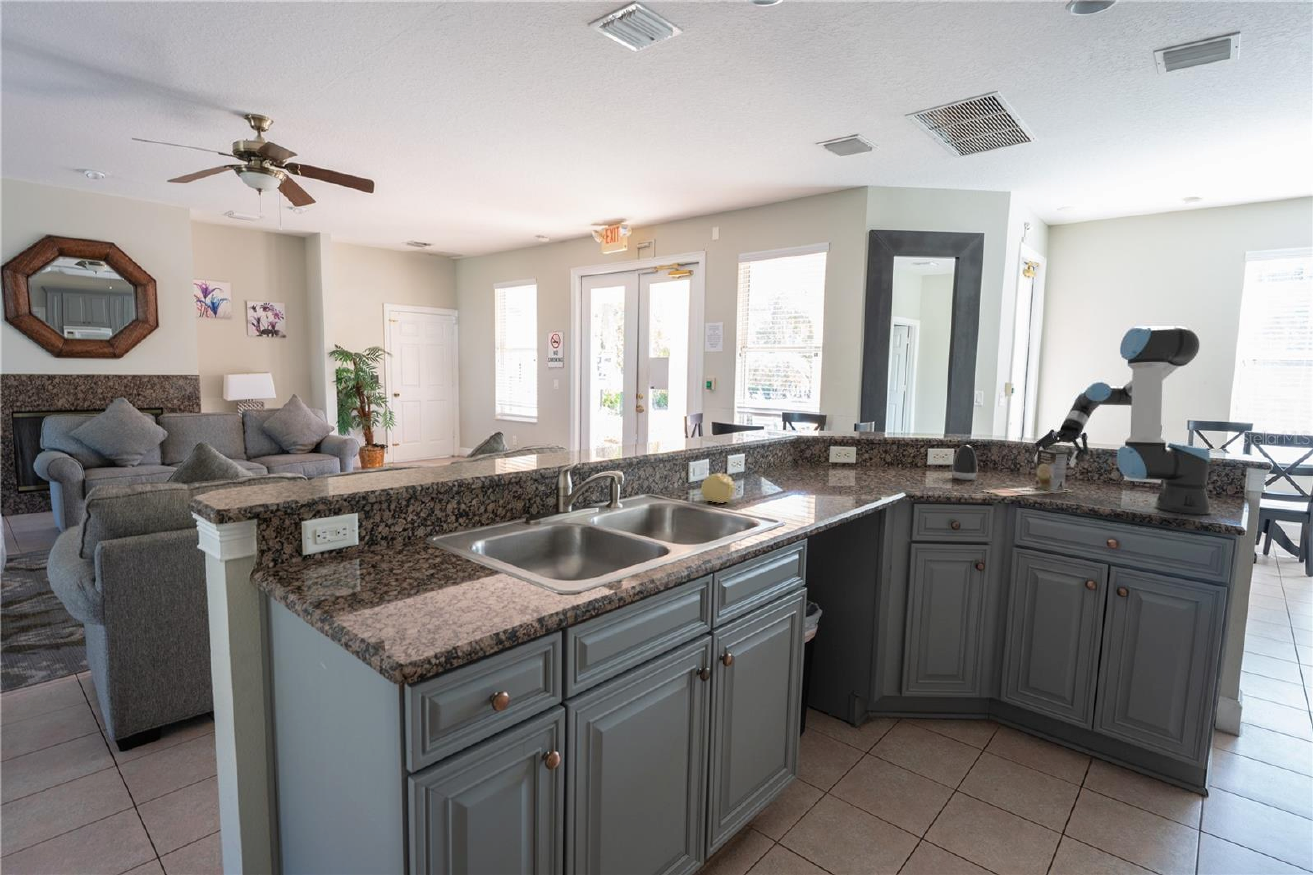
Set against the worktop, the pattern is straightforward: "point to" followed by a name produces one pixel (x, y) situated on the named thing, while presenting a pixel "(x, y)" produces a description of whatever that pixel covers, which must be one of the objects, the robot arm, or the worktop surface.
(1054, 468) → the coffee box
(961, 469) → the dark grey dome speaker
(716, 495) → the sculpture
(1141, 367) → the robot arm
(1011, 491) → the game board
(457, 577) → the worktop surface
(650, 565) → the worktop surface
